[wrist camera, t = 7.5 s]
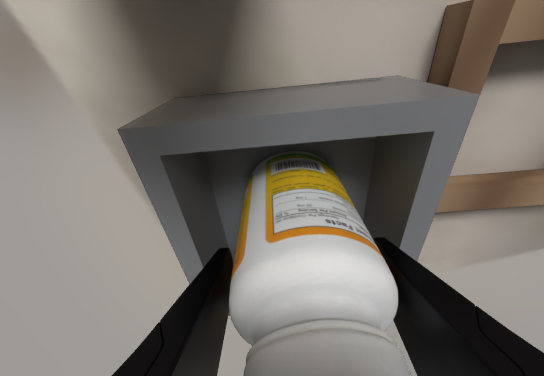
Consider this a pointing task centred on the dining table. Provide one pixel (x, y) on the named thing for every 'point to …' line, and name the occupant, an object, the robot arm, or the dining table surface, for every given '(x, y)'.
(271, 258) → the supplement bottle
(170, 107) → the bin
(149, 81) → the dining table surface
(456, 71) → the socket block
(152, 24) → the dining table surface
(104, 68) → the dining table surface
